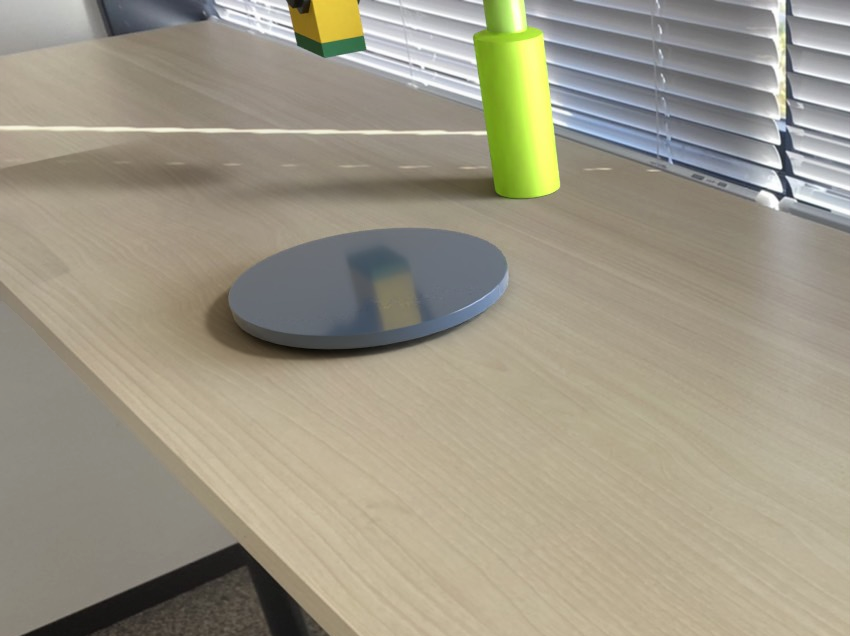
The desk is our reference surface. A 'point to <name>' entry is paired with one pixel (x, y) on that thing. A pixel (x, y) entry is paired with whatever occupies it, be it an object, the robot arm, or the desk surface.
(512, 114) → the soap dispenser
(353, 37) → the sponge
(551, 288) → the desk surface
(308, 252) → the plate
